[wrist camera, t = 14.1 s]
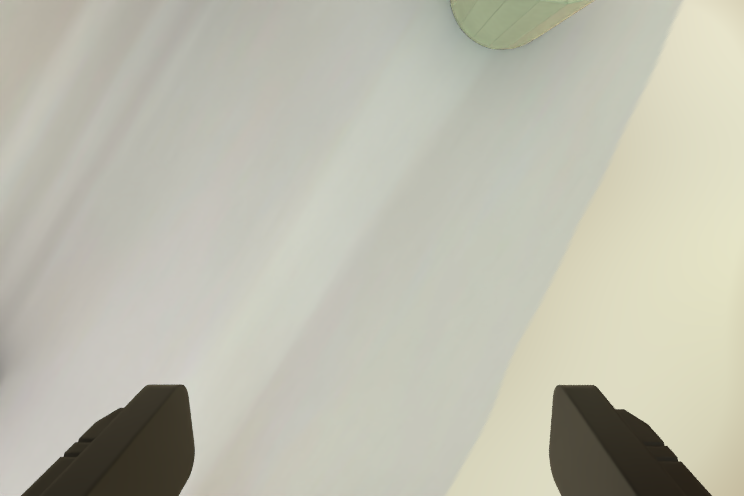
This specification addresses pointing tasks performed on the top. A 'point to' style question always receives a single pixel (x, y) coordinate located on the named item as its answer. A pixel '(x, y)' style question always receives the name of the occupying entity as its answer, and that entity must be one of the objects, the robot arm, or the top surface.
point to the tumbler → (511, 19)
